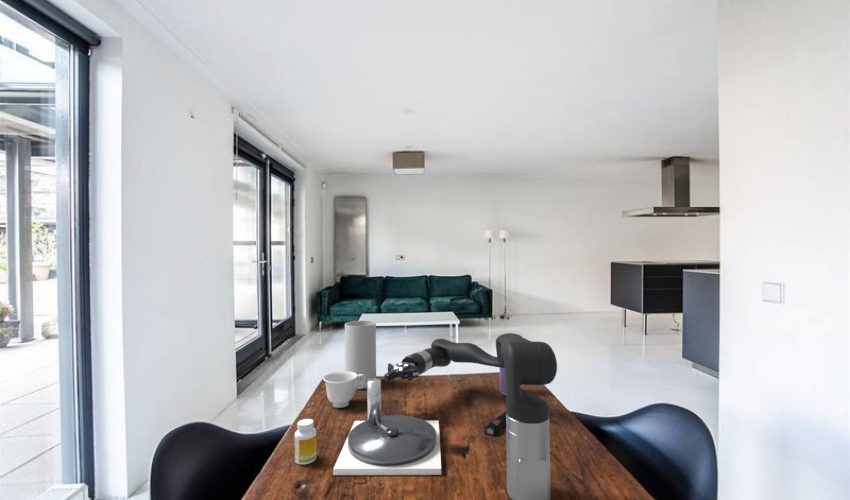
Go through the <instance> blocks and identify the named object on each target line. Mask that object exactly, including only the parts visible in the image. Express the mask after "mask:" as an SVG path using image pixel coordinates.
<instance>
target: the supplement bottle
mask: <svg viewBox="0 0 850 500" xmlns="http://www.w3.org/2000/svg"><path fill="white" fill-rule="evenodd" d="M314 424H315V423H314V419H312V418H304V419H301V420H299V421H297V424H296V425H297V427H296V428H297V430H296V431H295V432H294V461H295V463H296V464H297V465H301V466H302V465H309V464H311V463H314V462H315V460H316V459H317V430H316V428H315V427H314Z"/></svg>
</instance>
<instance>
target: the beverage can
mask: <svg viewBox="0 0 850 500" xmlns="http://www.w3.org/2000/svg"><path fill="white" fill-rule="evenodd" d="M499 392H500V394H503V395H505V396H506V380H505V368H500V367H499Z"/></svg>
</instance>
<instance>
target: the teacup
mask: <svg viewBox="0 0 850 500" xmlns="http://www.w3.org/2000/svg"><path fill="white" fill-rule="evenodd" d="M360 377H363V381H362V383H361V384H360V385H358V386H356V387H355V381H358V380H359V378H360ZM322 380H323V381H324V383H325V388H326V396H327V399H328V401H329V402H330V403H332V407H333V408H338V409H339V408H341V409H342V408H345V407H348V406H349V404H350V402H351V400H352V399H353V398H354V394H355V392H356V391H357V390H359V389H358V388H360V387H362V386H363V385H364V383H365V380H366V379H365V376H364V375H363V374H359V375H357V374H356V373H354V372H349V371H345V370H342V371H341V370H339V371H333V372H330V373H327V374H326V375H324V376H323V378H322Z"/></svg>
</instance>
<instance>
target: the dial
mask: <svg viewBox="0 0 850 500" xmlns="http://www.w3.org/2000/svg"><path fill="white" fill-rule="evenodd" d="M366 392H367V395H366V396H367V399H366V400H367V401H366V402H367V403H366V404H367V405H366V406H367V410H366V411H367V412H366V413H367V420H363V421H364V422H362V423H360V424H359V425H357V426H356V427H354V428H353V429H352V430H351V429H350V431H351V432H350V431H349V433H348V435H349V436H348V435H347V437H348V449H349V452H350V453H351V454H352V456H354V457H355V458H356V459H358V460H360V461H362V462H365V463H368V464H372V465H379V466H396V465H403V464H408V463H411V462H414V461H417V460H420V459H422V458H424V457H425V456H427V455H428V454H429V453H431V451H432V450H433V449H434V447H435V445H436V431H435V429H434V427H433V426H432V425H431V424H430V423H428V422H426V421H427V420H425V419H422V418H419V417H416V416H411V415H404V414H403V415H400V414H399V415H397V414H396V415H395V414H394V415H393V414H392V415H391V414H390V415H383V416H382V380H381V379H380V378H377V377H376V378H374V379H369V380H367V388H366Z"/></svg>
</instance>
